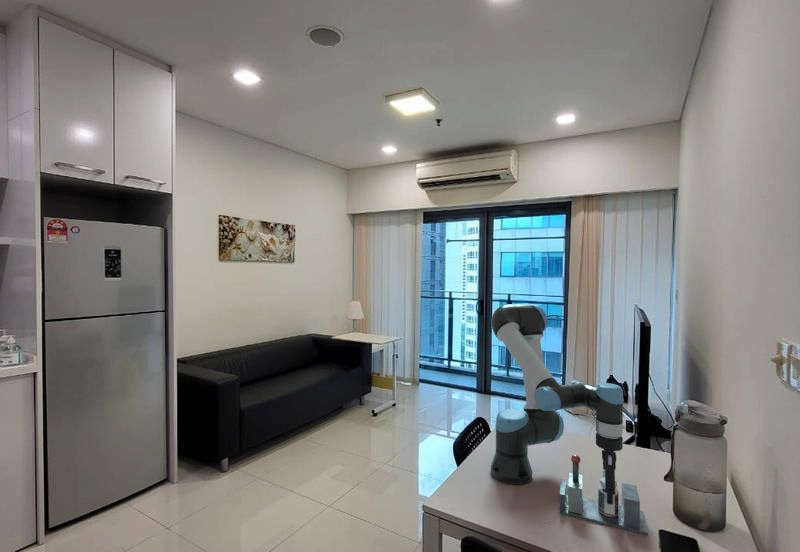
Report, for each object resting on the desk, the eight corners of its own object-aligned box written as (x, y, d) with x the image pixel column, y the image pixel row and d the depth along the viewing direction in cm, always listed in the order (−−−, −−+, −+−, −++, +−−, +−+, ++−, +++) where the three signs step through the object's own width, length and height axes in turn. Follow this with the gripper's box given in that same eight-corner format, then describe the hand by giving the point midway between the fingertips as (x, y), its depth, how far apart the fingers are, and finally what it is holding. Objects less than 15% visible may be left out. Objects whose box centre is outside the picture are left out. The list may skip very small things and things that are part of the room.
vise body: (559, 513, 127) (559, 485, 127) (561, 495, 137) (561, 469, 137) (648, 535, 116) (648, 505, 116) (642, 513, 127) (643, 485, 127)
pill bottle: (621, 519, 123) (621, 486, 123) (600, 516, 124) (601, 484, 124) (615, 508, 128) (615, 477, 128) (595, 506, 130) (596, 475, 130)
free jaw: (567, 511, 126) (568, 460, 126) (569, 495, 135) (569, 448, 135) (581, 514, 125) (582, 462, 125) (582, 498, 134) (582, 450, 134)
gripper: (626, 452, 113) (625, 527, 113) (619, 423, 136) (619, 485, 136) (596, 447, 116) (595, 520, 116) (595, 419, 139) (594, 480, 139)
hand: (608, 501), depth 126 cm, fingers open, 13 cm apart
